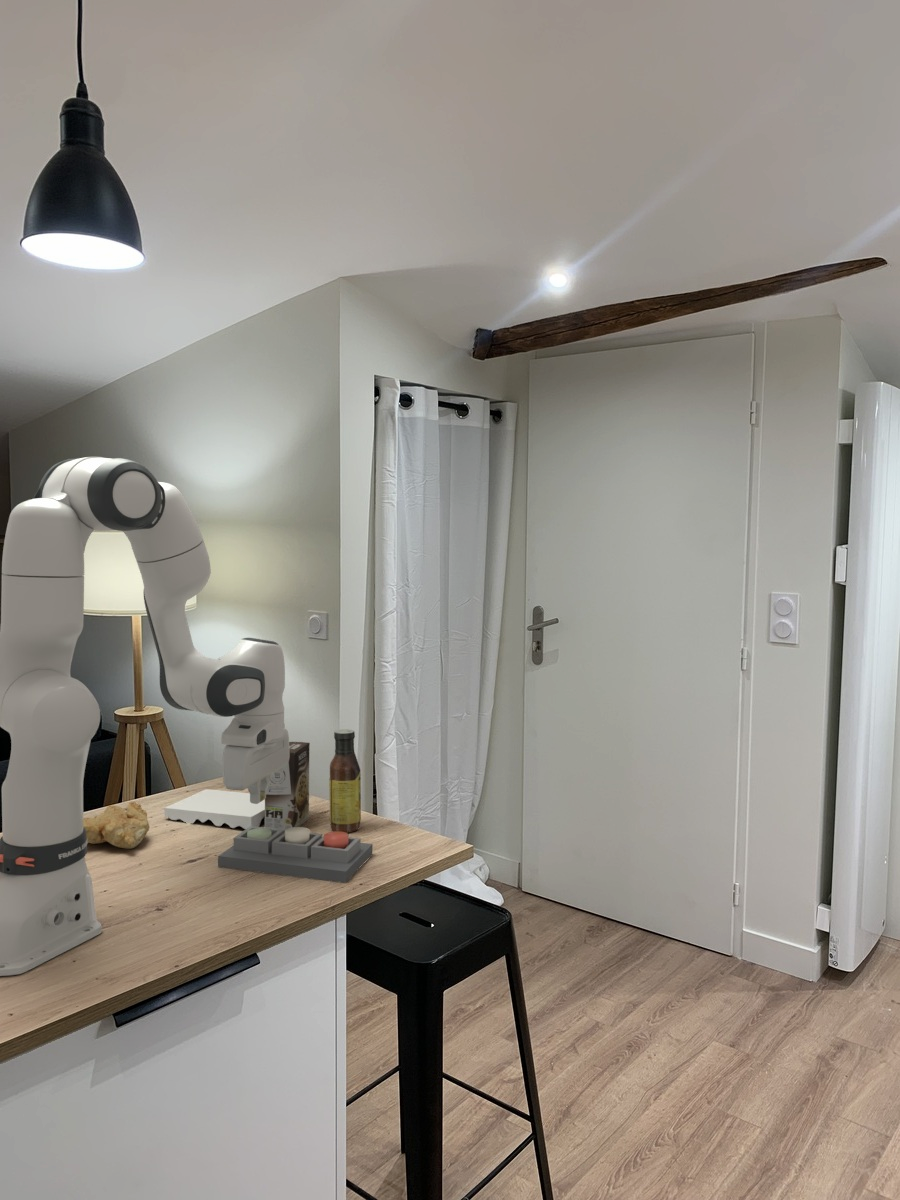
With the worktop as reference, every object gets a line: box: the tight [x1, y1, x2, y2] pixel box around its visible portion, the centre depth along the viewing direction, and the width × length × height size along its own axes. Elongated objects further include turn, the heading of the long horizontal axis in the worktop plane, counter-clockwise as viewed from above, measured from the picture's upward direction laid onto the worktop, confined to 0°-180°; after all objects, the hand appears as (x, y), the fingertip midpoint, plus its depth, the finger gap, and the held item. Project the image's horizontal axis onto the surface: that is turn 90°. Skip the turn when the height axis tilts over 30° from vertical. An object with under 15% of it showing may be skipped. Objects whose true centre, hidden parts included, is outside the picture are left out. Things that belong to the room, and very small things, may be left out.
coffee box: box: [264, 741, 310, 832], centre depth 186 cm, size 9×6×16 cm
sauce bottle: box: [328, 728, 362, 834], centre depth 184 cm, size 6×6×20 cm
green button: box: [247, 828, 271, 840], centre depth 168 cm, size 4×4×2 cm
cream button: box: [284, 826, 311, 844], centre depth 166 cm, size 4×4×2 cm
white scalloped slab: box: [163, 788, 265, 830], centre depth 191 cm, size 15×3×20 cm
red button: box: [323, 830, 350, 849], centre depth 165 cm, size 4×4×2 cm
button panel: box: [217, 826, 373, 884], centre depth 167 cm, size 14×24×4 cm, turn 76°
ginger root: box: [83, 801, 150, 850], centre depth 174 cm, size 16×16×8 cm
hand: (257, 801), depth 168 cm, fingers closed
